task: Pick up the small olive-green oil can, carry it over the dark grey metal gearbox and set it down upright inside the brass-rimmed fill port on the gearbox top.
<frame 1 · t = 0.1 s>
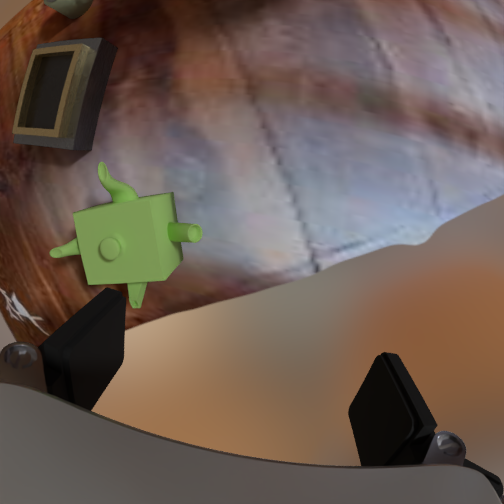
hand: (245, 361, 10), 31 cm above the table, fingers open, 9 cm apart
oil can: (79, 5, 32), on the table
gearbox: (70, 96, 37), on the table
kettle: (143, 224, 42), on the table
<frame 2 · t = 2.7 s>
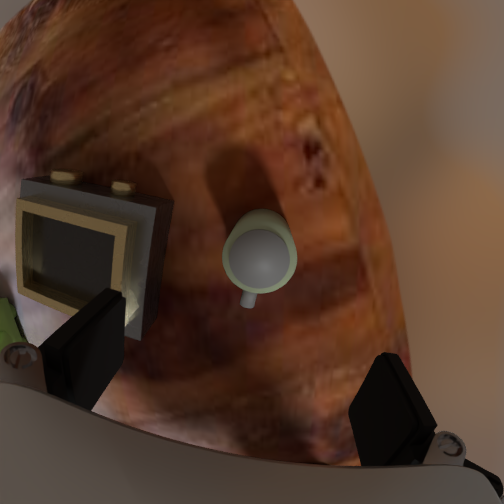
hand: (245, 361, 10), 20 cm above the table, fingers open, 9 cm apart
oil can: (261, 237, 30), on the table
gearbox: (97, 245, 31), on the table
kettle: (10, 324, 35), on the table
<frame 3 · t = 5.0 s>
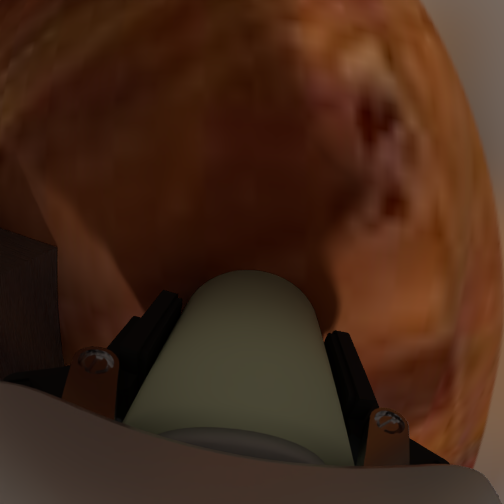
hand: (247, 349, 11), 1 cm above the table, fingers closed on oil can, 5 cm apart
oil can: (249, 334, 12), on the table, touching gripper
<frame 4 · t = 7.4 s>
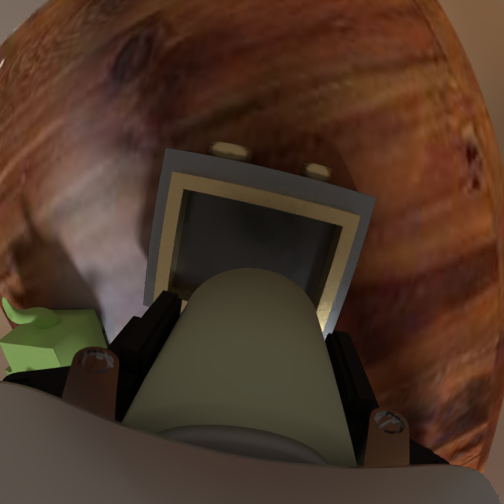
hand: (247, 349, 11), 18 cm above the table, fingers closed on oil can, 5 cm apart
oil can: (250, 333, 12), point 17 cm above the table, touching gripper
gearbox: (255, 239, 28), on the table
kettle: (87, 340, 33), on the table
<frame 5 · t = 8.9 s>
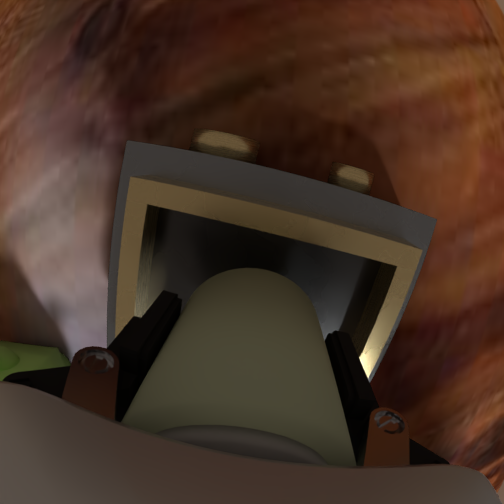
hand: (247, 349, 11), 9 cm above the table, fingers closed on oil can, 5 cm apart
oil can: (249, 333, 12), point 8 cm above the table, touching gripper
gearbox: (259, 270, 20), on the table
kettle: (57, 378, 25), on the table
when the fingers open (7 cm above the table, at t = 10.2 s): oil can drops 1 cm, resting on gearbox.
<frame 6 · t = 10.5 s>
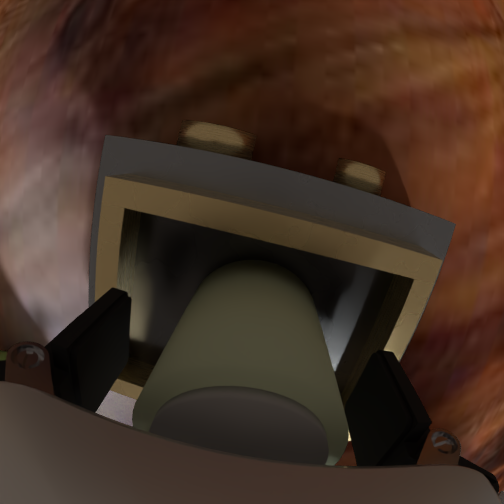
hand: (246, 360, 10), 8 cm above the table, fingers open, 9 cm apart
oil can: (252, 320, 13), point 5 cm above the table, touching gearbox
gearbox: (256, 278, 18), on the table
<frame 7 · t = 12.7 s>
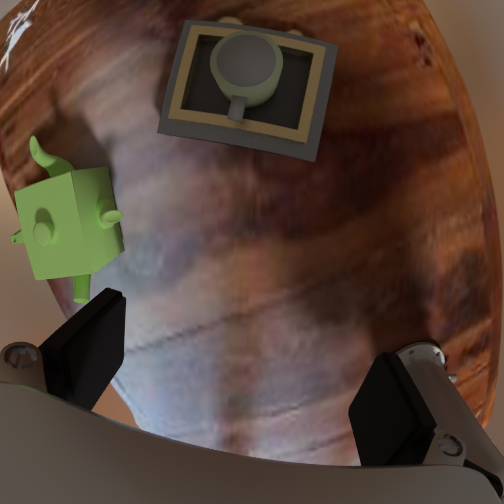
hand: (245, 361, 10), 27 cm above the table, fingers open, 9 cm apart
oil can: (248, 81, 27), point 5 cm above the table, touching gearbox
gearbox: (249, 92, 32), on the table
kettle: (95, 209, 36), on the table
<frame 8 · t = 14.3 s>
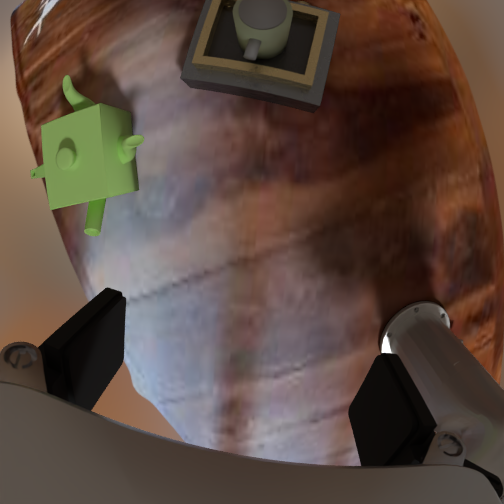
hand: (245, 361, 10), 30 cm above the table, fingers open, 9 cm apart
oil can: (262, 38, 28), point 5 cm above the table, touching gearbox
gearbox: (263, 53, 34), on the table
kettle: (114, 154, 38), on the table
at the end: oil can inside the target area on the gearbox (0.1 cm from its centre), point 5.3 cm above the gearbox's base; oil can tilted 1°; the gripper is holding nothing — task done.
